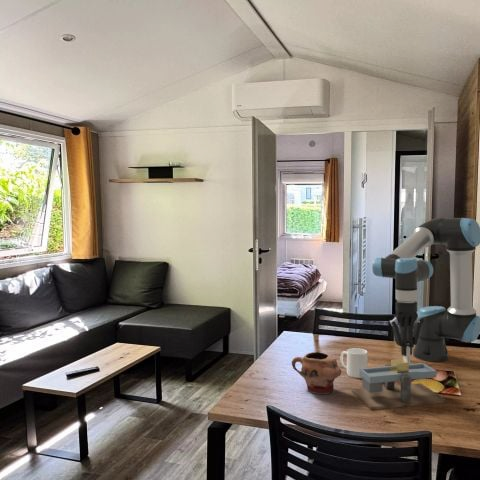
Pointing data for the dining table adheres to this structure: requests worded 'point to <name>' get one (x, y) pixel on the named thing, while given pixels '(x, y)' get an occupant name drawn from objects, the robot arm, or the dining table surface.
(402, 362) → the block
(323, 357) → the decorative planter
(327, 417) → the dining table surface
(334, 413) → the dining table surface
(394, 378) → the grey long tray
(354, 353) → the cup
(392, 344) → the dining table surface
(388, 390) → the low stand
